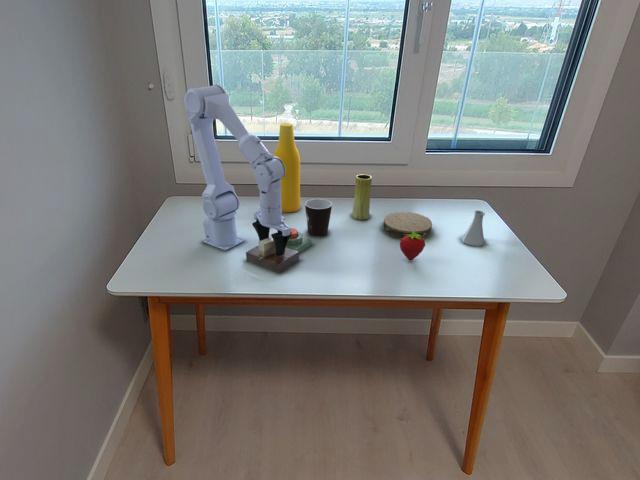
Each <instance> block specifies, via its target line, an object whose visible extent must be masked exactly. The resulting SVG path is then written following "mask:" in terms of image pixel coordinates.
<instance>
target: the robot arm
mask: <svg viewBox="0 0 640 480" xmlns="http://www.w3.org/2000/svg"><path fill="white" fill-rule="evenodd" d="M183 103H184V107H185V110H186V114H187V118H188V122H189V125H190V129H191V132H192V137H193V139H194V143H195V147H196V150H197V155H198V157H199V162H200V165H201V169H202V172H203V176H204V179H205V183H206V187H205V189H204V191H203V192H202V194H201V197H202V210H203V212H204V214H205V216H204V218H203V228H204V236H205V239H204V240H203V243H204V244H207V245H209V246H211V247H215V248H217V249H220V250H223V251H228V250H230V249H232V248H234V247H235V246H237V245H240V244H241V243H243V242H244V240H243V239H241V238H239V237H238V235H237V223H236V215H237V211H238V210H239V208H240V206H241V205H240V204H241V202H240V199H239V196H238V195H237V193H236V191H235V187H234V186H233V185H232V184H230V183H228V182H227V181H226V177H225V173H224V169H223V166H222V161H221V158H220V154H219V149H218V147H217V141H216V139H215V136H214V131H213V128H212V124H213V122H214V121H215V120H218V121H220V123H221V124H222V125H223V126H224V127H225V128H226V129H227V131H228V132H230V134H231V135H232V136H233V138H235V140H236V141H237V142H238V150H239V151H240V153H241V154H242V156H243V157H244V159H245V160H246V161H247V162H248V164H249V165H250V166H251V168H252V169H253V170H254V171H253V177H254V179H255V181H256V183H257V188H258V190H259V207H260V209H259V210H258V211H254V212H253V219H254V220H255V221H253V222H252V223H251V224H252V227H253V228H254V230H255V231H256V234H257V237H258V241H261V240H264V239H267V238H270V236H271V237H272V238H273V240H274V243H275V249H276V254H277V256H281V255H283V254H284V252H285V248H286V244H287V242H288V240H289V238H290V237H291V235H292V232H291V231H290V228H291V227H289V225H287V223H286V221H285V219H286V218H285V217H284V216H283V215H282V214H283V212H282V208H281V180H280V179H282V178H283V177H284V175H285V166H284V164H283V162H282V160H281V159H280V158H278V157H275V156H274V154H272V153H270V152H269V150H268V149H267V147H266V146H265V145H264V144H263V142H262V140H261V138H260V137H259V136H258V135H256V134H252V133H249V131H248V129H247V128H246V126H245V124H244V123H243V122H242V121H241V119H240V117H239V116H238V114H237V112H236V111H235V110H234V108H233V107H232V106H231V97H230V95H229V94H228V93H227V92H226V90H225V88H224V87H223V86H222V85H220V84H217V83H216V84H213V85H208V86H203V87H196V88H195V87H193V88H192V87H191V88H189V89H188V90H187V91H186V93H185V95H184V98H183ZM271 229H273V230H276V231H277V232H273V233H271V234H270V230H271Z"/></svg>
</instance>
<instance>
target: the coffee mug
mask: <svg viewBox="0 0 640 480" xmlns="http://www.w3.org/2000/svg"><path fill="white" fill-rule="evenodd" d="M332 207H333V202H332V201H330V200H328V199H325V198H311V199H308V200H306V201H305V202H304V209H305V217H306V227H307V234H308V235H309V236H311V237H315V238H321V237H325V236H326V235H328V232H329V226H330V220H331V215H332Z"/></svg>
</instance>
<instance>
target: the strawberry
mask: <svg viewBox="0 0 640 480" xmlns="http://www.w3.org/2000/svg"><path fill="white" fill-rule="evenodd" d="M415 231H416V229H415ZM405 235H408V236H405V237H403V238H402V239H400V240H399V241H400V242H399V248H400V250H401V252H402V254H403V255H404V256H405V257H406V259H407V260H408V261H409V262H410V261H413V260H414V259H416V258H417V257H418V256H419V255H420V254H422V252H423V251H424V249H425V247H426V240H425V238H424V239H423V238H422V237H424V236H421V235H419V234H417V232H416V233H414V231H413V232H412V234H405Z"/></svg>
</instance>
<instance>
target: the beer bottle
mask: <svg viewBox="0 0 640 480" xmlns="http://www.w3.org/2000/svg"><path fill="white" fill-rule="evenodd" d="M278 132H279V133H278V134H279V135H278V143H277V146H276V148H275V151H274V153H273V156H275V157H278V158H280V159H281V160H282V162H283V164H284V166H285V175H284V177H283V178H282V179H280V180H281V208H282V213H294V212H297V211H299V209H300V208H301V156H300V152H299V149H298V148H297V146H296V141H295V132H294V124H293V123H289V122H281V123H280V124H279V131H278Z"/></svg>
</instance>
